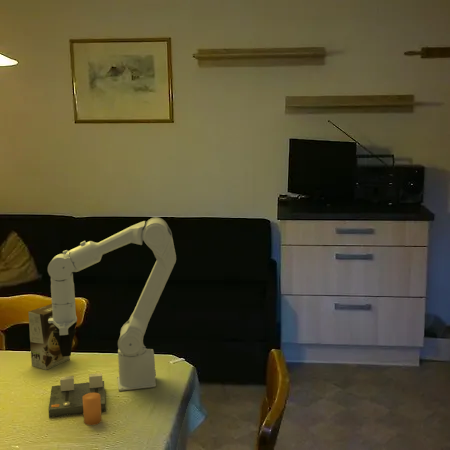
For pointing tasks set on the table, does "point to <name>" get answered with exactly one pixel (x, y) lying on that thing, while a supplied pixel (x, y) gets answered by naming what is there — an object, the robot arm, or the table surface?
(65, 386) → the block
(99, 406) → the cap
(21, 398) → the table surface
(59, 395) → the breaker panel
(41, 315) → the coffee box
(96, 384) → the block
